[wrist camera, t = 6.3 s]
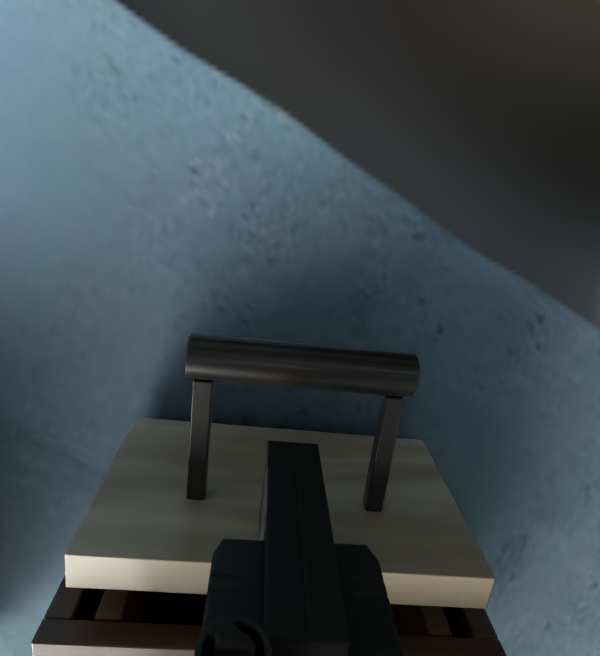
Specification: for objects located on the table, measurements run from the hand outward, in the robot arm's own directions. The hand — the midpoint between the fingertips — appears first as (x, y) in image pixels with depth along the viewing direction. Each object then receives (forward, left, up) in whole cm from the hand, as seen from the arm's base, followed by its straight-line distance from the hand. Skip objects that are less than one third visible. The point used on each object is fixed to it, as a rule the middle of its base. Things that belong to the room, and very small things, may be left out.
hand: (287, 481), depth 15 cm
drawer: (0, +6, -6) cm, 9 cm away
